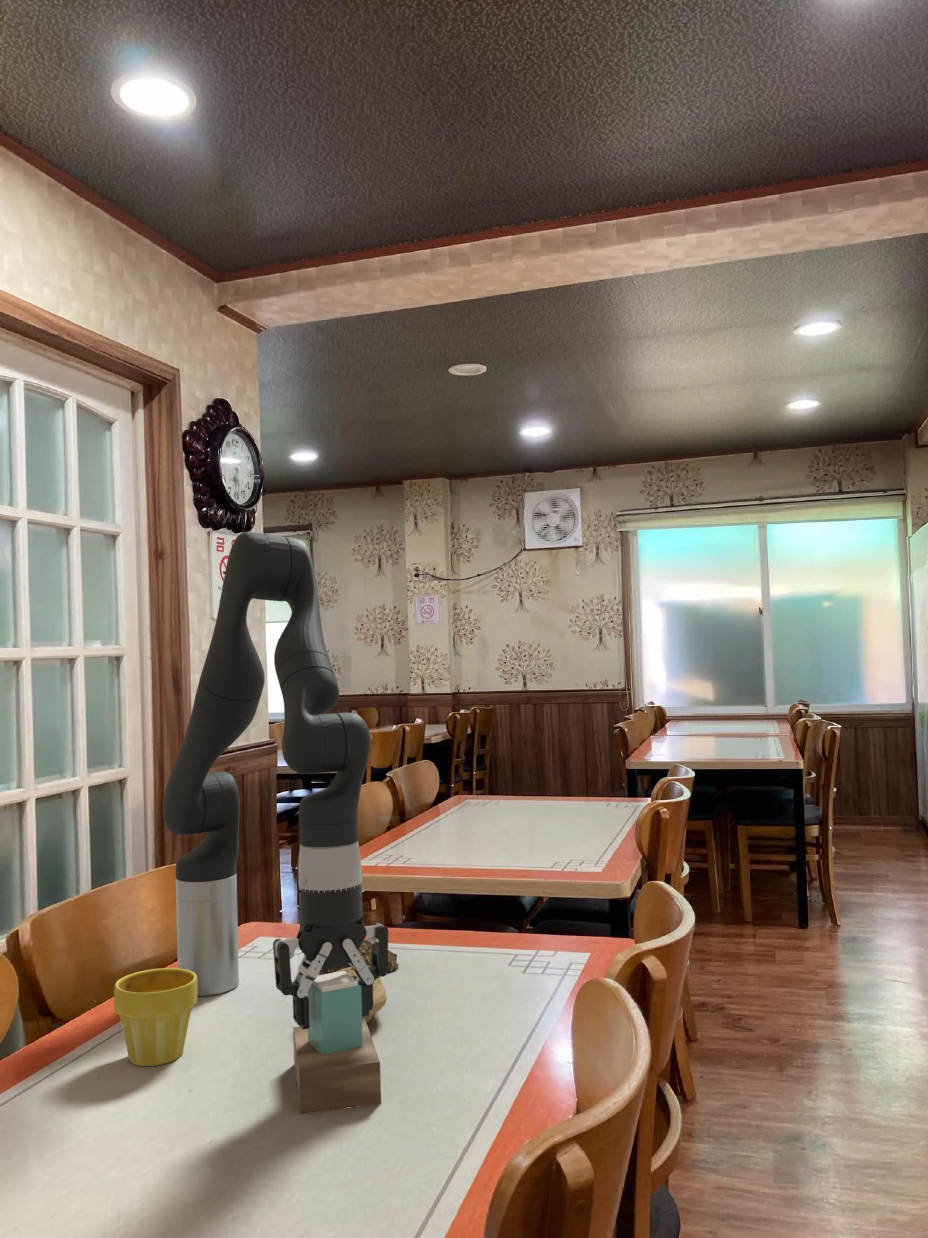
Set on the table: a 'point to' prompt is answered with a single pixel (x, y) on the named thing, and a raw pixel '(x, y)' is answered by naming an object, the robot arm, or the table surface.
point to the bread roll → (367, 959)
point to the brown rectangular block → (336, 1074)
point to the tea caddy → (335, 1013)
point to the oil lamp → (378, 993)
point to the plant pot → (155, 1013)
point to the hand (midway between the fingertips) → (333, 1020)
